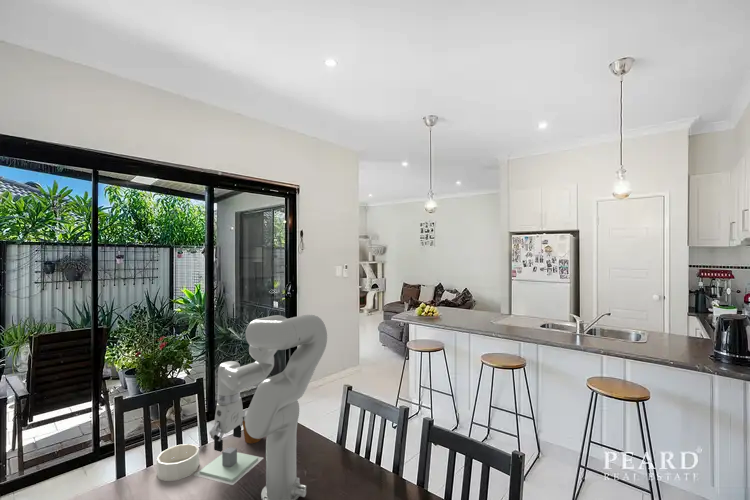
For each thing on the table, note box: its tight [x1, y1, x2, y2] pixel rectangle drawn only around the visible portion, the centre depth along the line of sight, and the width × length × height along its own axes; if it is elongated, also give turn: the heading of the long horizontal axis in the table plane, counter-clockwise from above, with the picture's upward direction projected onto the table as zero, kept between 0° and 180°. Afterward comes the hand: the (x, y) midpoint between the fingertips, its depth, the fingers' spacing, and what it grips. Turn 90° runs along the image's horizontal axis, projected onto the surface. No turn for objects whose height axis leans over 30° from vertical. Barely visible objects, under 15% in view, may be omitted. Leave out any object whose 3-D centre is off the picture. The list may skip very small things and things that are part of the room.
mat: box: [193, 451, 264, 486], centre depth 135 cm, size 17×17×1 cm
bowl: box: [156, 443, 200, 482], centre depth 133 cm, size 13×13×6 cm
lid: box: [199, 446, 259, 481], centre depth 134 cm, size 14×14×6 cm
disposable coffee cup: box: [242, 407, 262, 444], centre depth 153 cm, size 10×10×12 cm
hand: (228, 443), depth 135 cm, fingers open, 9 cm apart
